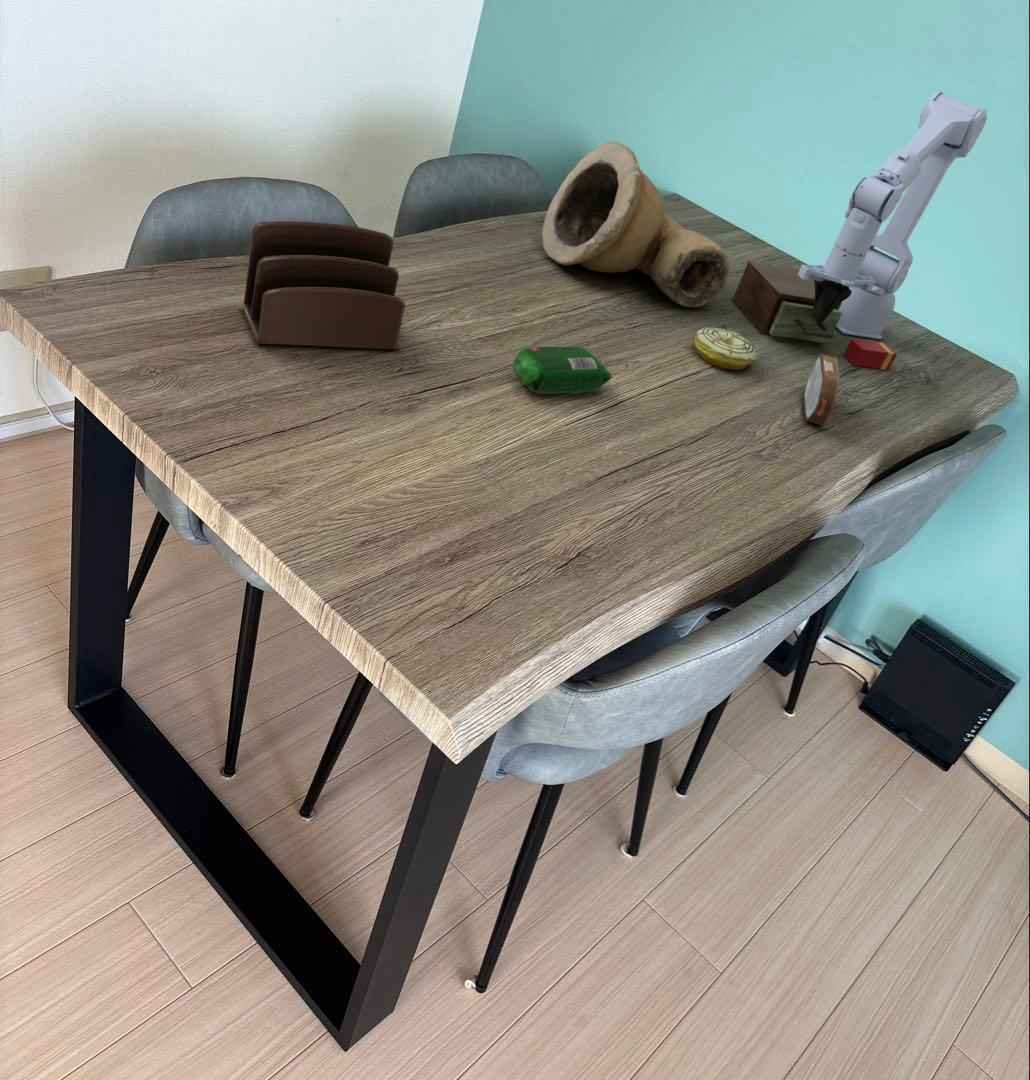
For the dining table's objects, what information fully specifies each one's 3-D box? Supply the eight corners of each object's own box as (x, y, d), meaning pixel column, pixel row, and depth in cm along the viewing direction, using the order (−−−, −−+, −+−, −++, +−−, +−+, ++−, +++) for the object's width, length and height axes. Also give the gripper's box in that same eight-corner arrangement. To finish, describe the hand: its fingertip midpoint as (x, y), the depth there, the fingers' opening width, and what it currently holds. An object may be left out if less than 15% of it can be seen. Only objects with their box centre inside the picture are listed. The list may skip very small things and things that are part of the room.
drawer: (840, 356, 187) (855, 325, 183) (783, 348, 183) (797, 316, 179) (797, 312, 200) (811, 282, 196) (743, 303, 195) (756, 273, 192)
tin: (821, 435, 160) (845, 389, 155) (802, 428, 160) (825, 382, 156) (817, 394, 173) (839, 350, 168) (799, 388, 173) (820, 344, 168)
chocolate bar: (877, 359, 193) (886, 343, 191) (888, 370, 190) (897, 354, 188) (843, 354, 190) (851, 338, 188) (853, 365, 188) (862, 349, 186)
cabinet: (822, 342, 193) (841, 303, 188) (761, 333, 188) (779, 293, 183) (791, 308, 203) (808, 271, 198) (732, 299, 198) (748, 260, 193)
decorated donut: (762, 369, 175) (771, 349, 173) (724, 377, 168) (733, 357, 166) (717, 339, 180) (725, 320, 178) (679, 346, 173) (687, 326, 171)
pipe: (697, 353, 195) (596, 303, 175) (615, 282, 213) (515, 229, 192) (773, 247, 187) (676, 182, 166) (681, 182, 205) (583, 116, 184)
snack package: (613, 397, 152) (624, 367, 149) (523, 399, 144) (533, 367, 141) (589, 373, 156) (599, 342, 153) (501, 373, 148) (510, 341, 145)
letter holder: (241, 309, 143) (252, 213, 135) (376, 317, 152) (394, 227, 144) (256, 345, 136) (268, 246, 128) (396, 351, 145) (417, 259, 137)
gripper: (826, 252, 171) (792, 325, 178) (896, 265, 176) (860, 335, 183) (807, 235, 176) (775, 306, 184) (875, 248, 181) (841, 317, 189)
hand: (816, 320), depth 184 cm, fingers closed
